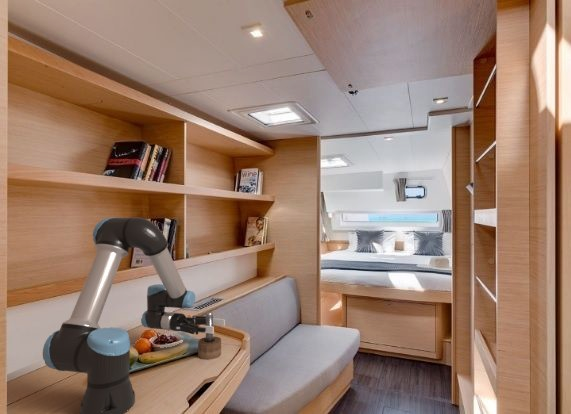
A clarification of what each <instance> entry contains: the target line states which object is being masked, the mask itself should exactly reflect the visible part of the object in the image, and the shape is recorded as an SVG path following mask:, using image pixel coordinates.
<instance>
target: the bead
mask: <svg viewBox="0 0 571 414" xmlns="http://www.w3.org/2000/svg"><path fill="white" fill-rule="evenodd" d="M197 342H198V343H197V358H199V359H201V360H205V361H206V360H214V359H217V358H219V357H220V356H221V355H222V338H221V337H218V336H214V335H213V342H210V343H207V342H206V336H205V337H202V338H200V339H199V340H198V341H197Z"/></svg>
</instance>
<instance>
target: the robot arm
mask: <svg viewBox="0 0 571 414" xmlns="http://www.w3.org/2000/svg"><path fill="white" fill-rule="evenodd" d="M92 237H93V239H92V240H93V243H94V244H95V245H94V248H95V250H96V254H95V257H94V259H93V262H92V264H91V267H90V269H89V272H88V274H87V276H86V279H85V281H84V284H83V286H82V289H81V291H80V294H79V295H78V297H77V301H76V303H75V305H74V308H73V310H72V313H71V315H70V317H69V318H68V319H67V320H65V321H64V322H62V323H61V326H60V328H59V329H58V330H56V331H54V332H52V334H51V335H48V337H47V339H46V340H45V342H44V344H43V348H42V359H43V360H44V364H45V365H46V366H47V367H48V368H49V369H53V370H57V371H58V372H70V373H71V372H72V373H84V374H86V375H87V378H86V379H87V381H86V383H87V384H86V388H85V389H86V390H85V393H84V395H83V399H82V401H81V404H80V407H79V414H123V413H124V412H125V413H127V412H128V411H129V409H130V408H131V407H132V408H133V407H134V406H135V403H136V392H135V390H134V388H133V384H132V381H131V379H130V357H131V356H130V355H131V353H130V352H131V351H130V350H131V342H130V335H129V333H128V331H127V330H125V329H123V328H119V327H113V326H111V327H100V325H99V321H100V318H101V316H102V313H103V310H104V307H105V305H106V303H107V299H108V297H109V294H110V291H111V289H112V285H113V283H114V281H115V278H116V275H117V273H118V272H117V271H118V270H119V267H120V264H121V261H122V259H123V258H125V257H127V256H128V254H129V252H130V249H133V248H135V249H136V248H137V249H139V250H141V251H142V253H143V255H144V256H146V257H148V258H149V260H150V261H151V262H150V263H151V264H152V266H153V268H154V269H155V271H156V273H157V275H158V278H159V279H160V282H161V284H152V285H149V286H148V287H147V293H146V307H147V309H146V311H144V312H143V314H142V315H141V316H142V317H141V318H140V323H141V325H142V326H143V327H144V328H148V329H151V330H152V329H153V330H154V329H155V330H156V329H157V330H164V331H167V332H170V331H174V332H183V333H186V334H191V335H199V333H203V334H206V333H210V334H213V335H214V333H215V327H214V326H219V327H220V326H222V327H225V326H226V319H224V318H214V317H213V326H206V315H192V317H187V316H186V315H185V314H184V313H182V312H181V313H180V312H171V311H165V309H166V308H172V309H191V308H193V306H194V305H195V302H196V294H195V292H194V291H191V290H187V288H186V286H185V284H184V282H183V279H182V278H181V275H180V273H179V271H178V268H177V267H176V265H175V262H174V260H173V258H172V255H171V253H170V251H169V249H168V246H169V243H168V240H167V238H166V237H165V235H164V233H163V232H162V231H161V229H160V228H159V227H158V226H157V225H156V224H155V223H153V222H152V220H151V221H150V220H148V219H147V218H145V217H144V218H143V217H138V216H137V217H118V216H115V217H113V216H112V217H106V218H104V219H101V220H100V221H98V222H97V223H96V225H95V227H94V228H93V231H92ZM132 408H131V409H132ZM131 409H130V410H131ZM127 410H128V411H127ZM126 411H127V412H126ZM125 413H124V414H125Z"/></svg>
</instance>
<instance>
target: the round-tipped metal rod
mask: <svg viewBox="0 0 571 414" xmlns="http://www.w3.org/2000/svg"><path fill="white" fill-rule="evenodd" d="M205 316H206V324H205V326H213V327H214V325H213V318H214V314H213V312H212V311H207V312H206V313H205ZM213 336H214V333H213V334H210V333H205V337H206V342H207V343H210V342H213Z"/></svg>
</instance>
